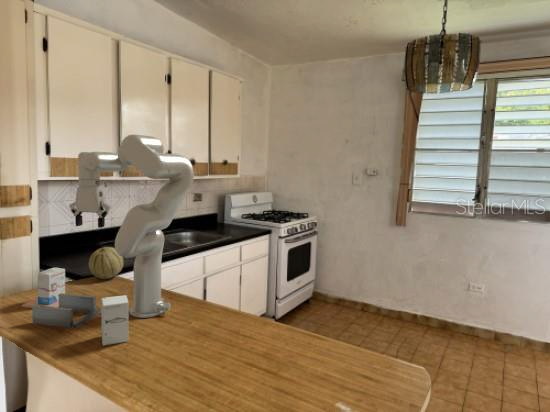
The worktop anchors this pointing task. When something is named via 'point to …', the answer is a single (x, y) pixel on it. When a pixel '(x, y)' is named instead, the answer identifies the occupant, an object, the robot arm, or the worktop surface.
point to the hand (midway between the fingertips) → (90, 226)
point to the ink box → (50, 285)
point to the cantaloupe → (105, 263)
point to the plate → (35, 302)
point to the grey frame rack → (66, 311)
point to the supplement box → (114, 319)
